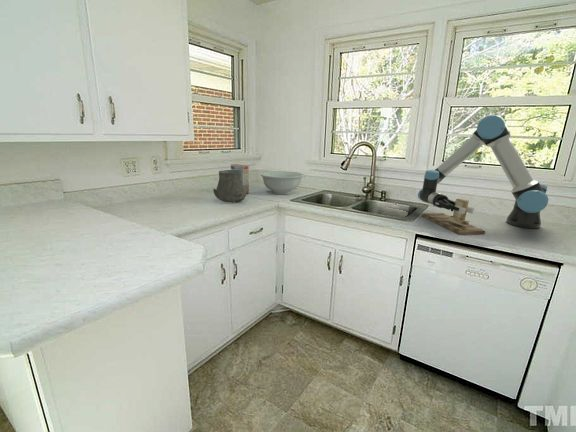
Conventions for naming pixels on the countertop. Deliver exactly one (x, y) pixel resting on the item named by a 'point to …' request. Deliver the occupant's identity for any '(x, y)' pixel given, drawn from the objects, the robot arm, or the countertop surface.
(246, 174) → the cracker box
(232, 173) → the vessel
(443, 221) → the walnut board
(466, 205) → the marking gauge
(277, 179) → the bowl
